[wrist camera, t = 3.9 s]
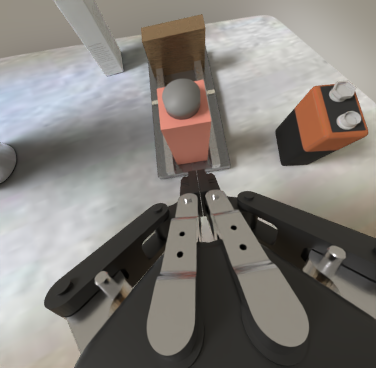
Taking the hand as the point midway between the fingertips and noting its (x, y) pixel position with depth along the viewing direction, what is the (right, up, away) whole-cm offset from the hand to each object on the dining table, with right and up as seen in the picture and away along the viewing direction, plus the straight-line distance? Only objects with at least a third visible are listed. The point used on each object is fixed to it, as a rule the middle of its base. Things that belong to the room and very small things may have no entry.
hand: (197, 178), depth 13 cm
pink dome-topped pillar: (-1, +5, +11) cm, 12 cm away
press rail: (-2, +14, +15) cm, 20 cm away
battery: (+17, +6, +11) cm, 21 cm away
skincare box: (-18, +26, +19) cm, 37 cm away
